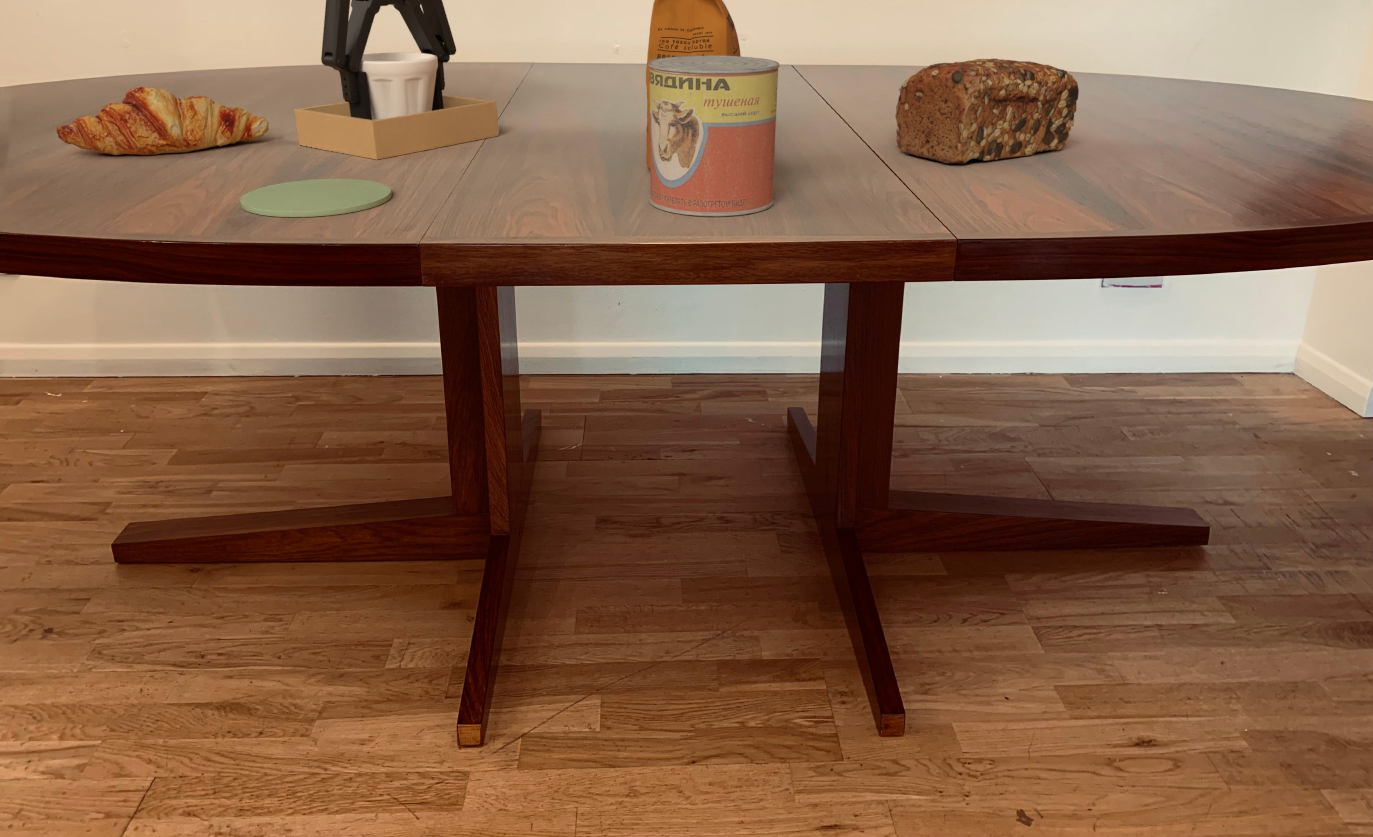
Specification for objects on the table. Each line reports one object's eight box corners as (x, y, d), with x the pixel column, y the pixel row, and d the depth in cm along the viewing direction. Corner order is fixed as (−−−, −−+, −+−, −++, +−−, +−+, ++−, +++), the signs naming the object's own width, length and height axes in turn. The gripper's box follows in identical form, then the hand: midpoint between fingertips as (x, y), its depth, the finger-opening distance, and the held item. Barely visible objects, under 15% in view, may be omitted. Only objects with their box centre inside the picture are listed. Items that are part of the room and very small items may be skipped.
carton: (299, 145, 115) (293, 109, 114) (422, 124, 129) (419, 91, 127) (376, 159, 108) (372, 121, 106) (499, 135, 122) (496, 101, 120)
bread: (957, 169, 106) (969, 68, 101) (887, 152, 114) (895, 58, 109) (1074, 151, 115) (1090, 58, 110) (1001, 136, 123) (1013, 49, 119)
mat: (210, 202, 90) (209, 197, 90) (332, 177, 100) (332, 172, 100) (299, 225, 84) (298, 219, 83) (421, 196, 93) (420, 190, 93)
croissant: (271, 165, 121) (257, 100, 121) (279, 137, 112) (263, 66, 112) (68, 180, 112) (52, 109, 111) (59, 149, 103) (42, 72, 103)
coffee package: (751, 154, 112) (758, -66, 102) (729, 178, 101) (735, -66, 91) (664, 150, 114) (663, -67, 104) (633, 172, 103) (629, -67, 94)
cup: (408, 151, 112) (398, 63, 108) (338, 143, 116) (326, 58, 112) (462, 137, 121) (455, 54, 117) (395, 130, 124) (386, 50, 120)
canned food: (623, 201, 92) (621, 62, 86) (704, 182, 99) (706, 52, 94) (719, 223, 85) (722, 73, 80) (798, 200, 93) (805, 62, 87)
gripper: (307, -92, 98) (340, 143, 107) (477, -87, 114) (492, 116, 124) (261, -91, 102) (297, 135, 111) (432, -87, 118) (450, 110, 128)
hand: (400, 125), depth 118 cm, fingers closed on cup, 10 cm apart
